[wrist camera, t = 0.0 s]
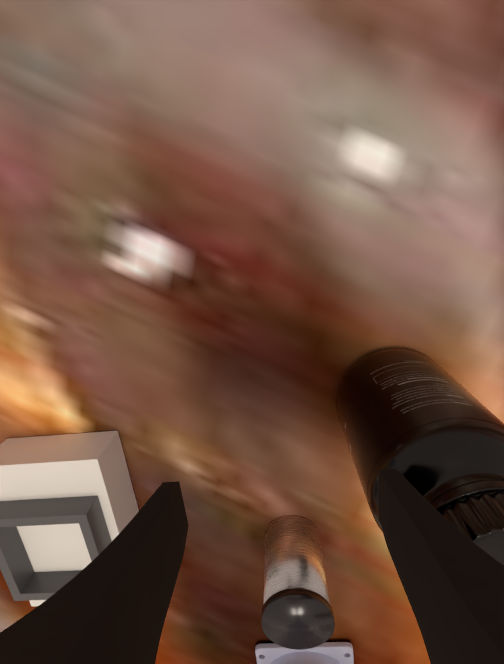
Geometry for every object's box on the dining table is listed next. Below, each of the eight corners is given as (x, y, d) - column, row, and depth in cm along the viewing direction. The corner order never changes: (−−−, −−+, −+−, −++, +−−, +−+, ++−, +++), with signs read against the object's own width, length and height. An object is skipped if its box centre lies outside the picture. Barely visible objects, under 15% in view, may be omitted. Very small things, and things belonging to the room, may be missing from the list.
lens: (322, 557, 27) (336, 648, 21) (266, 559, 27) (265, 650, 22) (319, 512, 26) (332, 597, 20) (260, 515, 26) (258, 600, 20)
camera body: (152, 563, 28) (131, 626, 24) (55, 567, 29) (17, 629, 24) (117, 430, 24) (85, 476, 20) (7, 438, 25) (-48, 484, 21)
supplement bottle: (316, 420, 23) (359, 616, 12) (366, 328, 21) (477, 459, 10) (410, 457, 24) (537, 679, 12) (468, 371, 22) (685, 543, 10)
